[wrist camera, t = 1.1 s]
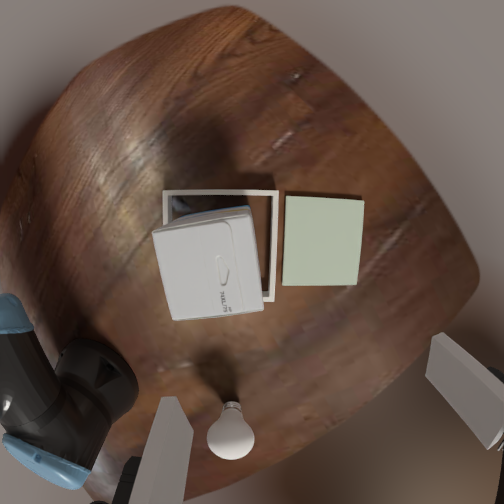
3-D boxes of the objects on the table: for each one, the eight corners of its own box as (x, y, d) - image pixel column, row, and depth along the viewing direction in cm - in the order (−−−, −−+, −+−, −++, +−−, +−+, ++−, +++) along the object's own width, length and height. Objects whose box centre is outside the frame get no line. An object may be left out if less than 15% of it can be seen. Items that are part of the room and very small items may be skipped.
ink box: (181, 214, 33) (148, 228, 21) (250, 203, 33) (252, 211, 21) (193, 281, 35) (171, 323, 23) (260, 272, 34) (266, 312, 23)
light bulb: (253, 390, 39) (256, 443, 28) (252, 417, 40) (253, 467, 29) (210, 388, 38) (202, 440, 28) (212, 415, 40) (206, 465, 29)
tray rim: (171, 293, 35) (167, 298, 33) (167, 190, 32) (162, 190, 30) (272, 295, 35) (274, 301, 33) (276, 190, 32) (278, 190, 30)
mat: (281, 283, 35) (282, 285, 34) (285, 195, 32) (286, 195, 32) (354, 283, 35) (356, 284, 34) (362, 200, 33) (364, 200, 32)
